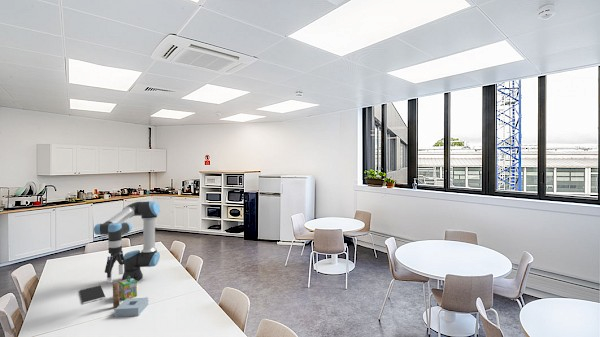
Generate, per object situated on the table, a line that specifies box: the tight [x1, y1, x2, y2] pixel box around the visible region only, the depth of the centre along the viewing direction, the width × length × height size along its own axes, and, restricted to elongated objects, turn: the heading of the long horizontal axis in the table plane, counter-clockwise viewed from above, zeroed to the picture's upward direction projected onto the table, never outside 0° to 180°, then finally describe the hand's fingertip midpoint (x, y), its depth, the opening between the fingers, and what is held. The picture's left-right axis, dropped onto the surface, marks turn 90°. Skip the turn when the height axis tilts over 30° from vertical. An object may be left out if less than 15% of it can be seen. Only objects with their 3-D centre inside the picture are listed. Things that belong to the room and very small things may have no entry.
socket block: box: [114, 297, 149, 318], centre depth 184 cm, size 14×14×5 cm
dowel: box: [112, 281, 121, 310], centre depth 189 cm, size 4×4×16 cm
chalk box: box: [118, 276, 138, 302], centre depth 204 cm, size 9×9×15 cm
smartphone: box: [79, 285, 106, 305], centre depth 207 cm, size 13×27×2 cm, turn 42°
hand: (115, 278), depth 189 cm, fingers open, 13 cm apart
